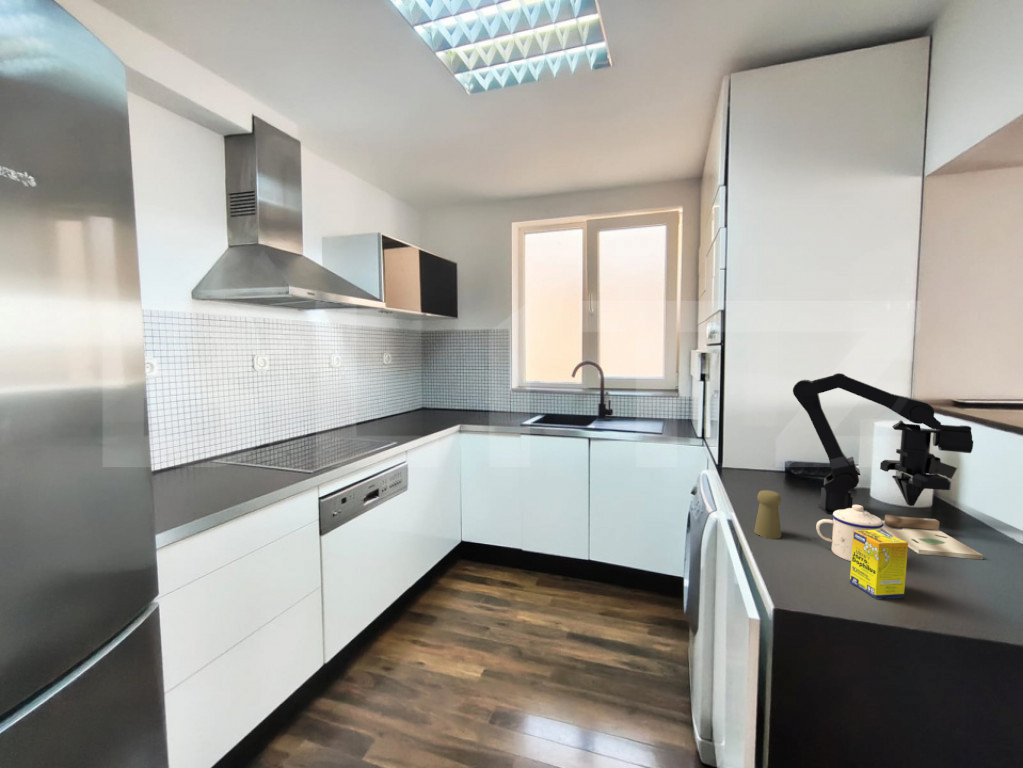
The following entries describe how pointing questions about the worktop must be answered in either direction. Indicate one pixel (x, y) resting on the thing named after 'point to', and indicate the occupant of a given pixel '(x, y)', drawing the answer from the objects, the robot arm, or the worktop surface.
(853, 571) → the supplement box
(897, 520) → the walnut lever
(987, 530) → the worktop surface
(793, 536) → the worktop surface
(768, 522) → the cork
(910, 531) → the dial plate
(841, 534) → the teacup with lid
